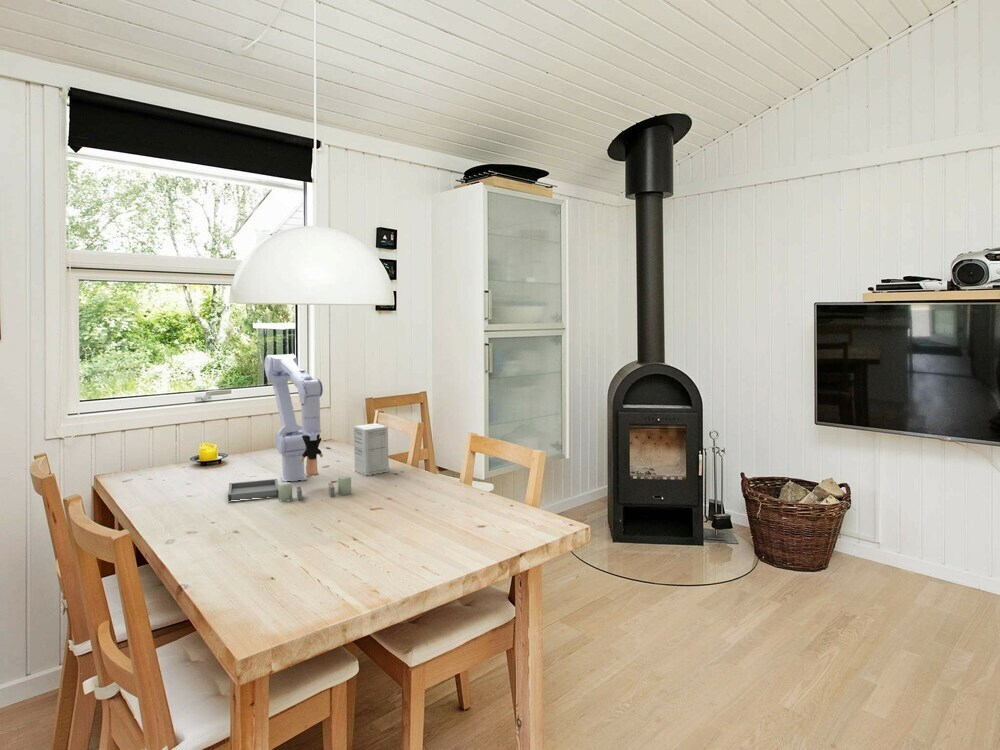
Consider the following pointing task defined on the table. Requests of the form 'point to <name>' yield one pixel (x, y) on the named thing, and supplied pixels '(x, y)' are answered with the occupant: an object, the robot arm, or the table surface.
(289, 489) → the pale green rounded block
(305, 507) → the table surface
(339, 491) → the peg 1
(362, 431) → the supplement box
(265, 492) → the tray
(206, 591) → the table surface
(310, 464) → the grandmother figurine
